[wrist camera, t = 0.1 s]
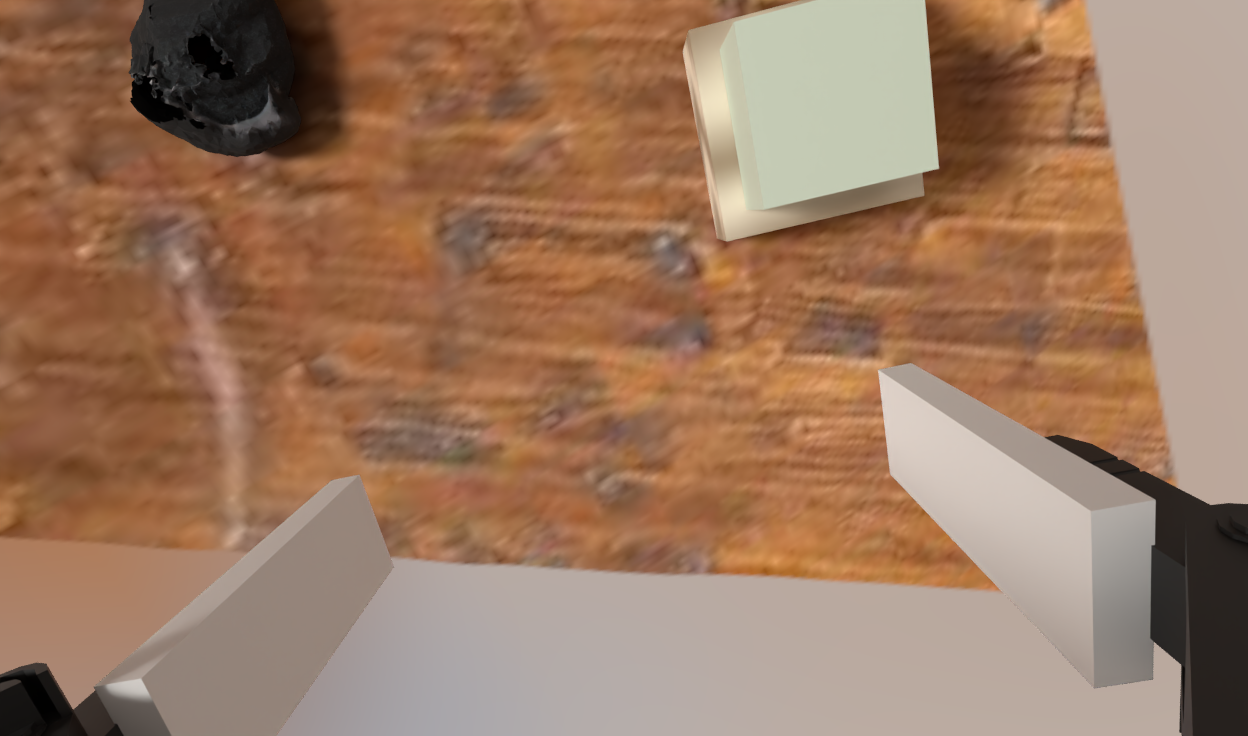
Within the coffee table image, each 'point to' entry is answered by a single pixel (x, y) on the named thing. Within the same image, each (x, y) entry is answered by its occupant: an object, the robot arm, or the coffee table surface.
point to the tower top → (829, 98)
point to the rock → (215, 74)
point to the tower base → (724, 161)
